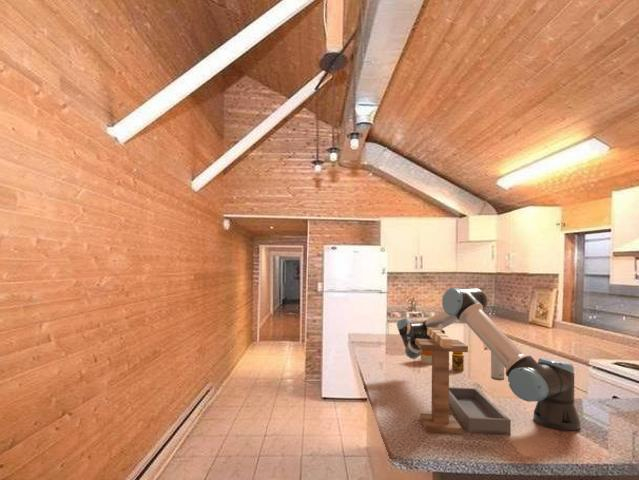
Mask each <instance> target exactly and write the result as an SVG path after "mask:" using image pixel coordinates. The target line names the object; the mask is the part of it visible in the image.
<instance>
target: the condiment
mask: <svg viewBox="0 0 639 480" xmlns="http://www.w3.org/2000/svg"><path fill="white" fill-rule="evenodd" d="M463 353H464V352H452V354H451V358H452V359H451V367H449V371H451V372H453V373H466V372H467V370H465V367H464V365H465V364H464V363H465V362H464V361H465V360H464V358H465V357H464V356H465V355H464V354H463Z"/></svg>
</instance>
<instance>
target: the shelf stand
mask: <svg viewBox="0 0 639 480" xmlns="http://www.w3.org/2000/svg"><path fill="white" fill-rule="evenodd" d="M415 344H416V345H417V346H418V347H419V348H420V350H421V351H432V364H431V409H430V410H431V413H419V421H421V422H420V423H421V424H422V427H423V428H424V431H425V433H426V434H427V433H428V434H429V433H430V434H446V435H447V434H448V435H451V434H452V435H462V434H463V428H462V427H461V425H460V424H459V422H458V421H457V420H456V417H454V415H453V414H450V406H449V387H450V370H449V368H450V353H451V352H452V353H453V352H463V353H468V352H469V346H468V345H466V344H465V343H463V342H462V341H461V340H459V339H452V348H443V347H441V346H440V345H439V344H438V343H437V342H436V341H434V340H433V339H419V338H415Z"/></svg>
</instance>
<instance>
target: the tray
mask: <svg viewBox="0 0 639 480" xmlns="http://www.w3.org/2000/svg"><path fill="white" fill-rule="evenodd" d="M449 408H450V409H451V410H452V411H453V413H454V415H456V417H457V418H458V419H459V421H460V422H461V424H462V425H463V427H464V428H465V430H467V432H468V433H469V434H482V435H483V434H484V435H485V434H486V435H506V436H511V431H512V430H511V419H510V418H509V417H508V416H507V415H506V414H504V412H503V411H502V410H501V409H499V408H498V407H497V405H495V404H494V403H493V402H492V401H491V400H490V399H489V398H488V397H487V396H485V395H484V394H483V393H482V392H481V391H480V390H479V389H478V388H473V387H451V386H449Z"/></svg>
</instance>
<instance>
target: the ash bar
mask: <svg viewBox="0 0 639 480" xmlns="http://www.w3.org/2000/svg"><path fill="white" fill-rule="evenodd" d="M427 335H428V336H430V337H431V338H432V339H433V340H434V341H436V342H437V343H438V344H439V345H440V346H441V347H443V348H452V340H453V339H452V338H451V337H449V336H448V335H447V334H446V333H445V334H444V333H442V332H441V331H439V330H438V329H437V328H435V327H427Z"/></svg>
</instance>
